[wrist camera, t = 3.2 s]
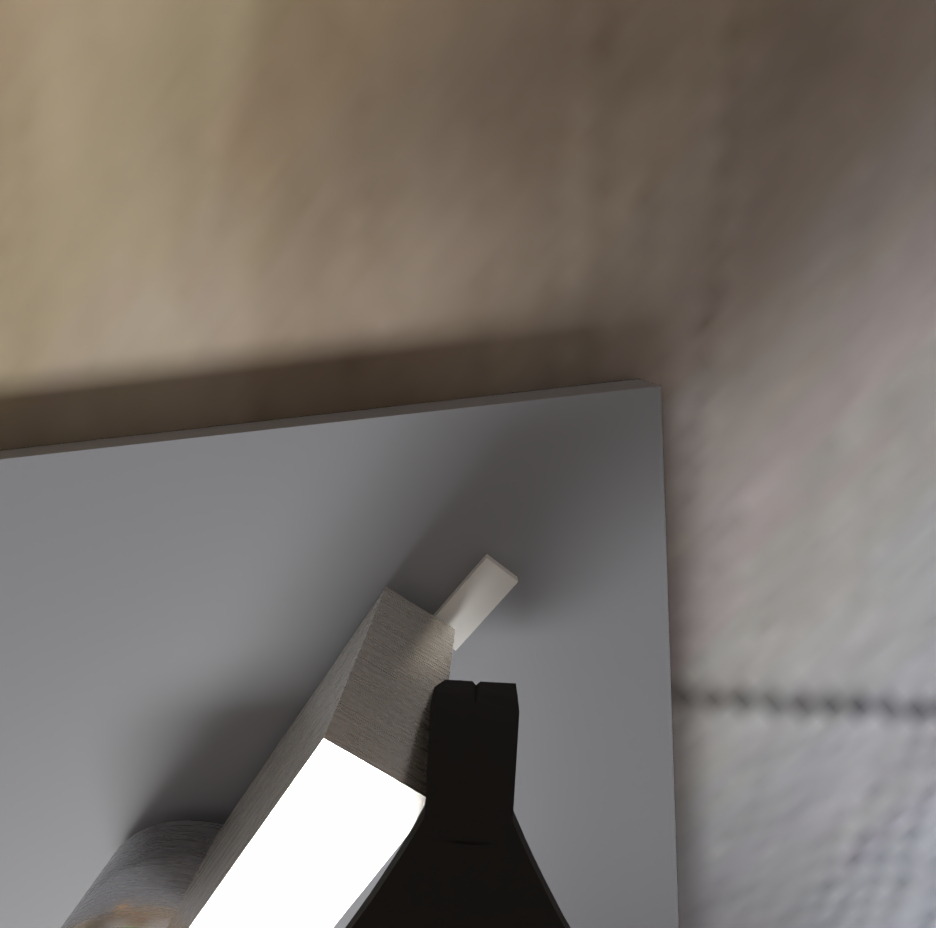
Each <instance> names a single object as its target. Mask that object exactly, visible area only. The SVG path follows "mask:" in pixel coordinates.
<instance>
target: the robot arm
mask: <svg viewBox="0 0 936 928" xmlns="http://www.w3.org/2000/svg"><path fill="white" fill-rule="evenodd" d="M518 727H519V703H518V695H517V688H516V683H500V682H481V681H480V682H479V683H478V684H477V685H475V683H474V682H473V681H463V680H444V681H443V682H441V683H440V684H438V685H437V686H435V687H434V691H433V695H432V699H431V704H430V713H429V734H428V755H427V777H426V799H425V805H424V807H423V809H422V811H421V812H420V814H419V816H418V818H417V820H416V822H415V823H414V825H413V827H412V829H411V830H410V832H409V834H408V835H407V837H406V838H405V840H404V842H403V843H402V845H401V847H400V848H399V850H398V852H397V853H396V855H395V856H394V858H393V859H392V861H391V863H390V864H389V866H388V867H387V869H386V870H385V872H384V873H383V875H382V876H381V878H380V879H379V881H378V882H377V884H376V885H375V887H374V888H373V890H372V891H371V893H370V894H369V896H368V897H367V898H366V900H365V901H364V902H363V904H362V905H361V907H360V908H359V909H358V911H357V912H356V914H355V915H354V916H353V918H352V919H351V921H350V922H349V923H348V925H347V926H346V927H345V928H570V926H569V924H568V922H567V920H566V919H565V917H564V915H563V913H562V911H561V910H560V908H559V906H558V904H557V902H556V900H555V898H554V896H553V894H552V892H551V890H550V888H549V886H548V884H547V882H546V880H545V879H544V877H543V875H542V873H541V870H540V868H539V866H538V864H537V862H536V860H535V858H534V856H533V854H532V852H531V849H530V847H529V845H528V843H527V841H526V839H525V836H524V834H523V832H522V829H521V827H520V825H519V822H518V820H517V818H516V815H515V813H514V794H515V777H516V761H517V744H518Z"/></svg>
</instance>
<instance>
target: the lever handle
mask: <svg viewBox="0 0 936 928" xmlns="http://www.w3.org/2000/svg"><path fill="white" fill-rule="evenodd" d="M454 635H455V629H454V628H452V627H451V626H449V625H447V624H446V623H444V622H443V621H441V620H439V619H438V618H436V617H434V616H433V615H431V614H430V613H428V612H426V611H425V610H423V609H421V608H420V607H418V606H417V605H415V604H413V603H412V602H410V601H408V600H407V599H405V598H404V597H402V596H400V595H399V594H397V593H395V592H394V591H392V590H391V589H389V588H387V587H386V588H385V589H384V591H383V592H382V594H381V595H380V596H379V598H378V599H377V601H376V602H375V604H374V605H373V607H372V608H371V610H370V611H369V613H368V614H367V615H366V617H365V618H364V620H363V621H362V623H361V624H360V626H359V627H358V629H357V630H356V631H355V633H354V634H353V636H352V637H351V639H350V640H349V642H348V643H347V645H346V646H345V648H344V649H343V650H342V652H341V653H340V655H339V656H338V658H337V659H336V661H335V662H334V664H333V665H332V666H331V668H330V669H329V671H328V672H327V674H326V675H325V677H324V678H323V680H322V681H321V683H320V684H319V685H318V687H317V688H316V690H315V691H314V693H313V694H312V696H311V697H310V699H309V700H308V701H307V703H306V704H305V706H304V707H303V709H302V710H301V712H300V713H299V715H298V716H297V718H296V719H295V720H294V722H293V723H292V725H291V726H290V728H289V729H288V731H287V732H286V734H285V735H284V736H283V738H282V739H281V741H280V742H279V744H278V745H277V747H276V748H275V750H274V751H273V753H272V754H271V755H270V757H269V758H268V760H267V761H266V763H265V764H264V766H263V767H262V769H261V770H260V771H259V773H258V774H257V776H256V777H255V779H254V780H253V782H252V783H251V785H250V786H249V788H248V789H247V790H246V792H245V793H244V795H243V796H242V798H241V799H240V801H239V802H238V804H237V805H236V806H235V808H234V809H233V811H232V812H231V814H230V815H229V817H228V818H227V820H226V821H225V823H224V824H221V823H217V822H210V821H203V820H178V821H170V822H165V823H160V824H157V825H154V826H151V827H148V828H146V829H144V830H142V831H140V832H138V833H136V834H135V835H133V836H132V837H130V838H129V839H127V840H126V841H125V842H124V843H123V844H122V845H121V846H120V847H119V848H118V849H117V851H116V852H115V853H114V855H113V856H112V857H111V859H110V860H109V861H108V863H107V864H106V866H105V867H104V868H103V870H102V871H101V873H100V874H99V875H98V877H97V878H96V879H95V881H94V882H93V884H92V885H91V886H90V888H89V889H88V891H87V892H86V893H85V895H84V896H83V897H82V899H81V900H80V902H79V903H78V904H77V906H76V907H75V909H74V910H73V911H72V913H71V914H70V915H69V917H68V918H67V920H66V921H65V922H64V924H63V925H62V927H61V928H333V927H334V926H335V924H336V923H337V922H338V921H339V919H340V918H341V917H342V916H343V914H344V913H345V912H346V911H347V909H348V908H349V907H350V906H351V904H352V903H353V902H354V901H355V900H356V898H357V897H358V896H359V895H360V893H361V892H362V891H363V890H364V888H365V887H366V886H367V885H368V883H369V882H370V881H371V880H372V878H373V877H374V876H375V875H376V874H377V872H378V871H379V870H380V869H381V867H382V866H383V865H384V864H385V862H386V861H387V860H388V859H389V857H390V856H391V855H392V854H393V852H394V851H395V850H396V849H397V848H398V846H399V845H400V844H401V843H402V841H403V840H404V839H405V838H406V836H407V835H408V834H409V832H410V830H411V829H412V827H413V825H414V823H415V822H416V820H417V818H418V816H419V814H420V812H421V811H422V809H423V807H424V805H425V799H426V777H427V755H428V734H429V713H430V704H431V699H432V695H433V691H434V687H435V686H437V685H438V684H440V683H441V682H443V681H444V680H449V677H450V668H451V660H452V652H453V643H454Z"/></svg>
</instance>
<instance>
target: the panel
mask: <svg viewBox="0 0 936 928" xmlns="http://www.w3.org/2000/svg"><path fill="white" fill-rule="evenodd" d="M386 587H387V588H389V589H391V590H392V591H394V592H395V593H397V594H399V595H400V596H402V597H404V598H405V599H407V600H408V601H410V602H412V603H413V604H415V605H417V606H418V607H420V608H421V609H423V610H425V611H426V612H428V613H430V614H431V615H433V616H434V617H436V618H438V619H439V620H441V621H443V622H444V623H446V624H447V625H449V626H451V627H452V628H454V629H455V635H454V643H453V652H452V660H451V668H450V677H449V680H463V681H473V682H474V683H475V685H477V684H478V683H479V682H480V681H481V682H500V683H516V688H517V695H518V703H519V727H518V744H517V761H516V777H515V794H514V813H515V815H516V818H517V820H518V822H519V825H520V827H521V829H522V832H523V834H524V836H525V839H526V841H527V843H528V845H529V847H530V849H531V852H532V854H533V856H534V858H535V860H536V862H537V864H538V866H539V868H540V870H541V873H542V875H543V877H544V879H545V880H546V882H547V884H548V886H549V888H550V890H551V892H552V894H553V896H554V898H555V900H556V902H557V904H558V906H559V908H560V910H561V911H562V913H563V915H564V917H565V919H566V920H567V922H568V924H569V926H570V928H679V920H678V889H677V859H676V828H675V797H674V767H673V736H672V706H671V675H670V644H669V614H668V583H667V553H666V522H665V491H664V461H663V430H662V399H661V386H659V385H656V384H653V383H650V382H647V381H644V380H641V379H634V380H625V381H616V382H607V383H598V384H589V385H580V386H571V387H562V388H554V389H545V390H536V391H527V392H518V393H509V394H500V395H491V396H482V397H473V398H464V399H456V400H447V401H438V402H429V403H420V404H411V405H402V406H393V407H384V408H375V409H366V410H358V411H349V412H340V413H331V414H322V415H313V416H304V417H295V418H286V419H277V420H268V421H259V422H251V423H242V424H233V425H224V426H215V427H206V428H197V429H188V430H179V431H170V432H161V433H153V434H144V435H135V436H126V437H117V438H108V439H99V440H90V441H81V442H72V443H63V444H55V445H46V446H37V447H28V448H19V449H10V450H1V451H0V928H61V927H62V925H63V924H64V922H65V921H66V920H67V918H68V917H69V915H70V914H71V913H72V911H73V910H74V909H75V907H76V906H77V904H78V903H79V902H80V900H81V899H82V897H83V896H84V895H85V893H86V892H87V891H88V889H89V888H90V886H91V885H92V884H93V882H94V881H95V879H96V878H97V877H98V875H99V874H100V873H101V871H102V870H103V868H104V867H105V866H106V864H107V863H108V861H109V860H110V859H111V857H112V856H113V855H114V853H115V852H116V851H117V849H118V848H119V847H120V846H121V845H122V844H123V843H124V842H125V841H126V840H127V839H129V838H130V837H132V836H133V835H135V834H136V833H138V832H140V831H142V830H144V829H146V828H148V827H151V826H154V825H157V824H160V823H165V822H170V821H178V820H203V821H210V822H217V823H221V824H224V823H225V821H226V820H227V818H228V817H229V815H230V814H231V812H232V811H233V809H234V808H235V806H236V805H237V804H238V802H239V801H240V799H241V798H242V796H243V795H244V793H245V792H246V790H247V789H248V788H249V786H250V785H251V783H252V782H253V780H254V779H255V777H256V776H257V774H258V773H259V771H260V770H261V769H262V767H263V766H264V764H265V763H266V761H267V760H268V758H269V757H270V755H271V754H272V753H273V751H274V750H275V748H276V747H277V745H278V744H279V742H280V741H281V739H282V738H283V736H284V735H285V734H286V732H287V731H288V729H289V728H290V726H291V725H292V723H293V722H294V720H295V719H296V718H297V716H298V715H299V713H300V712H301V710H302V709H303V707H304V706H305V704H306V703H307V701H308V700H309V699H310V697H311V696H312V694H313V693H314V691H315V690H316V688H317V687H318V685H319V684H320V683H321V681H322V680H323V678H324V677H325V675H326V674H327V672H328V671H329V669H330V668H331V666H332V665H333V664H334V662H335V661H336V659H337V658H338V656H339V655H340V653H341V652H342V650H343V649H344V648H345V646H346V645H347V643H348V642H349V640H350V639H351V637H352V636H353V634H354V633H355V631H356V630H357V629H358V627H359V626H360V624H361V623H362V621H363V620H364V618H365V617H366V615H367V614H368V613H369V611H370V610H371V608H372V607H373V605H374V604H375V602H376V601H377V599H378V598H379V596H380V595H381V594H382V592H383V591H384V589H385V588H386ZM406 837H407V836H406ZM404 840H405V839H404ZM404 840H403V841H402V843H403V842H404ZM402 843H401V844H400V845H399V846H398V848H397V849H396V850H395V851H394V852H393V854H392V855H391V856H390V857H389V859H388V860H387V861H386V862H385V864H384V865H383V866H382V867H381V869H380V870H379V871H378V872H377V874H376V875H375V876H374V877H373V878H372V880H371V881H370V882H369V883H368V885H367V886H366V887H365V888H364V890H363V891H362V892H361V893H360V895H359V896H358V897H357V898H356V900H355V901H354V902H353V903H352V904H351V906H350V907H349V908H348V909H347V911H346V912H345V913H344V914H343V916H342V917H341V918H340V919H339V921H338V922H337V923H336V924H335V926H334V927H333V928H345V927H346V926H347V925H348V923H349V922H350V921H351V919H352V918H353V916H354V915H355V914H356V912H357V911H358V909H359V908H360V907H361V905H362V904H363V902H364V901H365V900H366V898H367V897H368V896H369V894H370V893H371V891H372V890H373V888H374V887H375V885H376V884H377V882H378V881H379V879H380V878H381V876H382V875H383V873H384V872H385V870H386V869H387V867H388V866H389V864H390V863H391V861H392V859H393V858H394V856H395V855H396V853H397V852H398V850H399V848H400V847H401V845H402Z"/></svg>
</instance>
